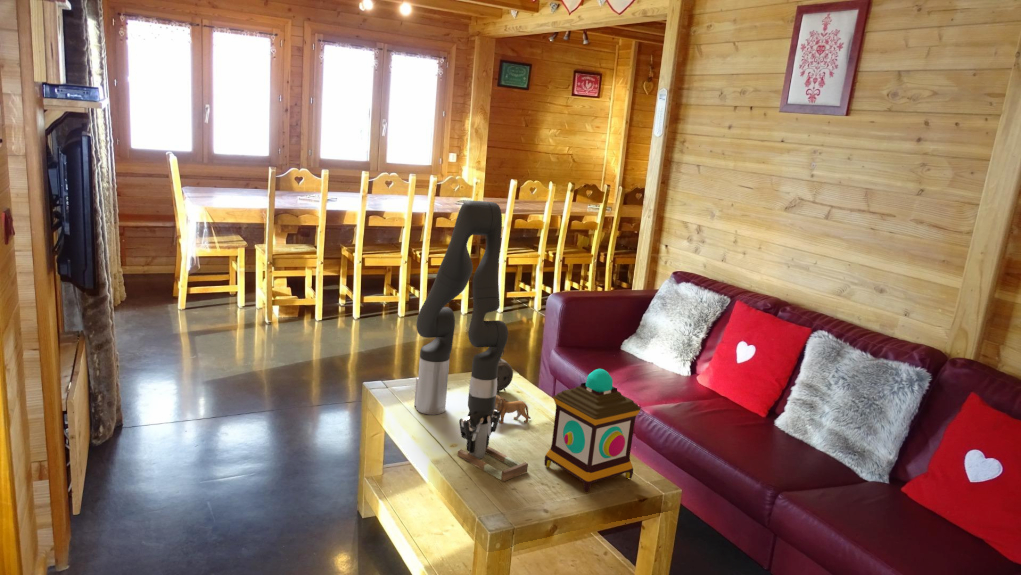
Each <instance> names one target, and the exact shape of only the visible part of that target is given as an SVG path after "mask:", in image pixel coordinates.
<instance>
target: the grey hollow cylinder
mask: <svg viewBox="0 0 1021 575" xmlns="http://www.w3.org/2000/svg"><path fill="white" fill-rule="evenodd" d="M472 428H473V429H475V427H473V426H472ZM487 430H488V422H487V423H485V424H480V430H479V433H477V435H476V438H475V449H474V453H470V452H468V453H469V454H471V455H472V456H474V457H476V458H478V459H480V460H481V459H483V458H485V457H486V453H485V450H486V440H487ZM472 434H473V432H472V433H471V435H472Z"/></svg>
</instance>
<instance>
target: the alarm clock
mask: <svg viewBox="0 0 1021 575" xmlns="http://www.w3.org/2000/svg"><path fill="white" fill-rule="evenodd" d="M504 354H505V349H504V350H503V352H502V355H501V358H500V361H499V364H498V374H497V393H496V395H498V396H500V392H501V391H502V390H503V391H506V388H507V387H508V386H510V384H511V382H512V380H513V377H514V370H513V367H512V365H511V364H510V363H508V362H507V360H505V359H503V358H502V357H503V356H504Z"/></svg>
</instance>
